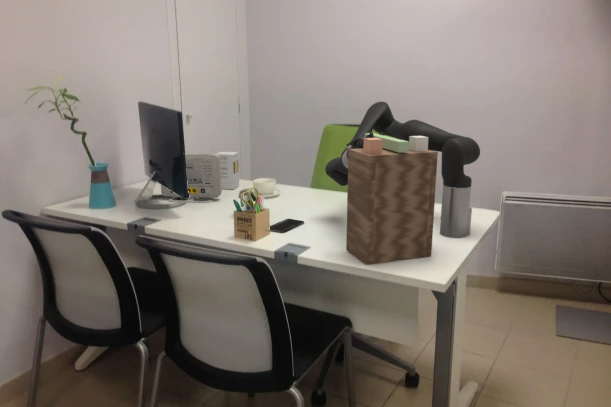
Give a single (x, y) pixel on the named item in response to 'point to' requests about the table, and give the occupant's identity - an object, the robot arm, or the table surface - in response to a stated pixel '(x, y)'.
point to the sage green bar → (392, 143)
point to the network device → (200, 178)
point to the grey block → (418, 143)
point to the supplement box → (229, 170)
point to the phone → (285, 225)
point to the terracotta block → (372, 145)
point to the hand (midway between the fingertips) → (377, 135)
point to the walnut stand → (390, 205)
